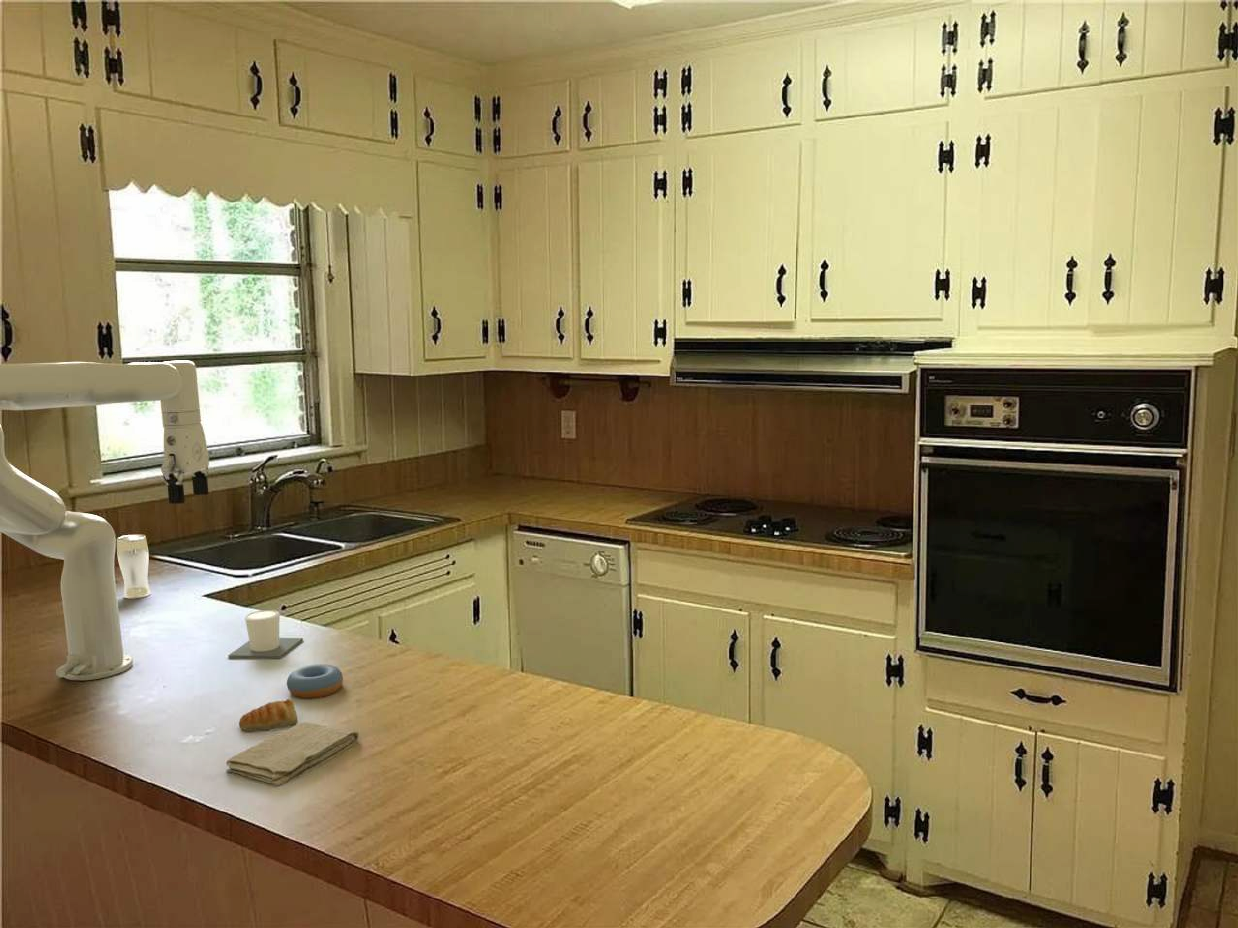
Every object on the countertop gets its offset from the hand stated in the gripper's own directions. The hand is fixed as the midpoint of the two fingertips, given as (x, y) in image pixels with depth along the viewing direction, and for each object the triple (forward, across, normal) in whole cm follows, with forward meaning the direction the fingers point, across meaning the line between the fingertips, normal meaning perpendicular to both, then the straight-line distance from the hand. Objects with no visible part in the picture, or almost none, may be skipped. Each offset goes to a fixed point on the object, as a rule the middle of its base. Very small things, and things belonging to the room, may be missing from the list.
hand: (189, 498), depth 217 cm
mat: (+30, -9, -19) cm, 37 cm away
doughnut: (+31, -30, -39) cm, 58 cm away
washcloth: (+31, -58, -47) cm, 81 cm away
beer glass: (+31, +29, +33) cm, 53 cm away
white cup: (+30, -9, -19) cm, 37 cm away
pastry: (+31, -46, -38) cm, 67 cm away
